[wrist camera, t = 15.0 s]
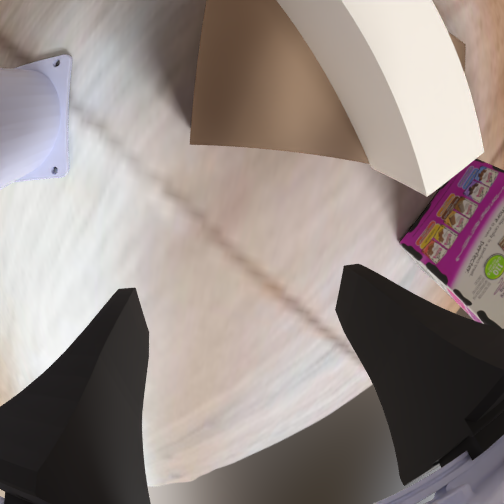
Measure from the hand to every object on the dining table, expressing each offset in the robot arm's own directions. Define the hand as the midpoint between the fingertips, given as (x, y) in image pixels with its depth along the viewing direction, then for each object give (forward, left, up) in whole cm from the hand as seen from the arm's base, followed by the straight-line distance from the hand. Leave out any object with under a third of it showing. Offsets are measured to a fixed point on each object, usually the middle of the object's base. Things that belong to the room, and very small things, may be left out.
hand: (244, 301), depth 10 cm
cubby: (+5, +9, -10) cm, 14 cm away
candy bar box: (+20, +1, -10) cm, 22 cm away
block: (+5, +9, -4) cm, 11 cm away
